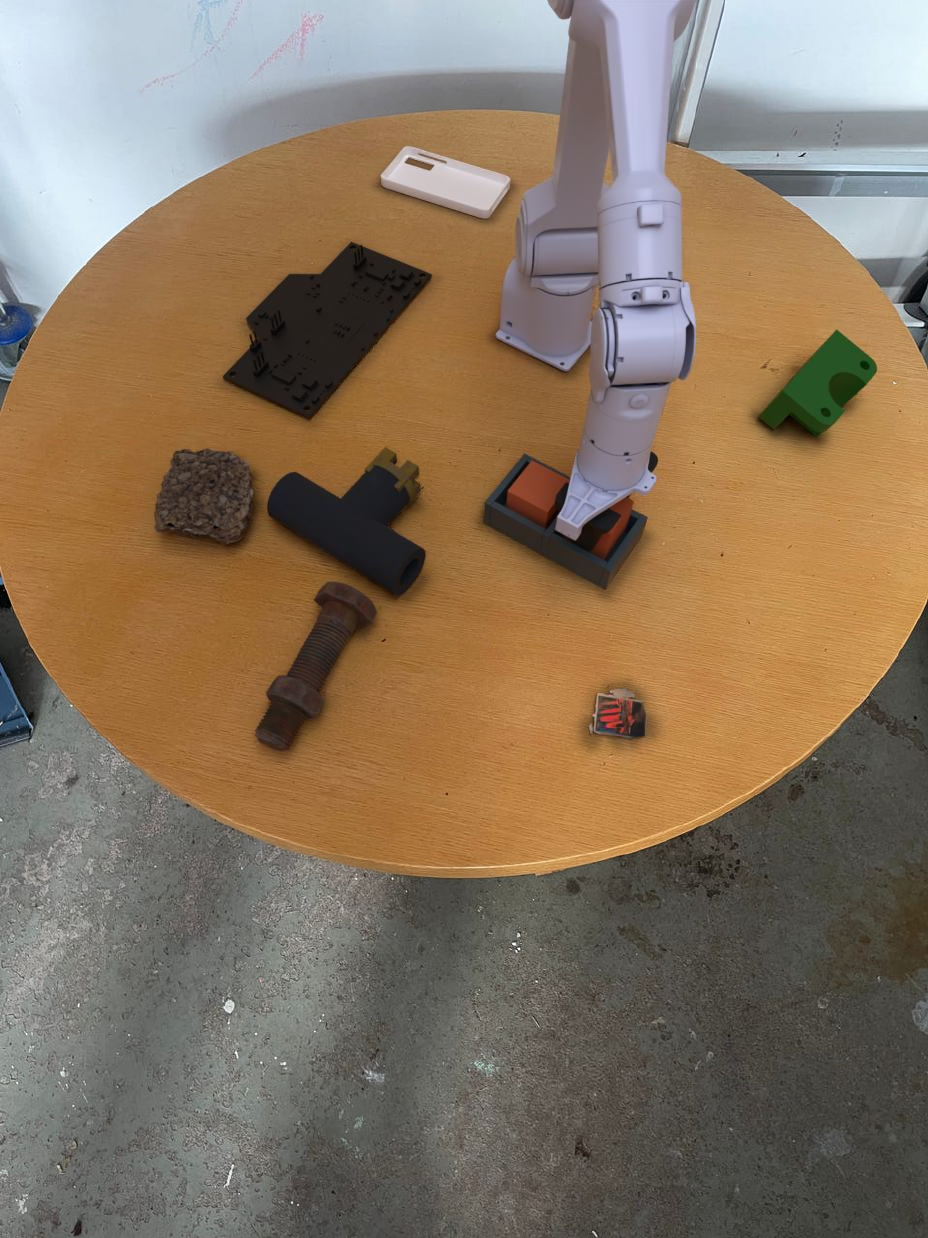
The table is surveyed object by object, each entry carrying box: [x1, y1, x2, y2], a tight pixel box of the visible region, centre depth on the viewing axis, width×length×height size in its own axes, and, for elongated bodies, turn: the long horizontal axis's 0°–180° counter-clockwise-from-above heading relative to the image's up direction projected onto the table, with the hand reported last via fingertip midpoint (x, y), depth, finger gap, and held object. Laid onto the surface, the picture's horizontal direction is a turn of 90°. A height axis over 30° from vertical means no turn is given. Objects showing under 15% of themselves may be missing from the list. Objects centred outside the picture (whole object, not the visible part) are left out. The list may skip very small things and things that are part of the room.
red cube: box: [563, 497, 635, 560], centre depth 80 cm, size 4×4×4 cm
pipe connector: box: [266, 446, 427, 597], centre depth 83 cm, size 12×5×15 cm
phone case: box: [380, 145, 511, 220], centre depth 109 cm, size 7×1×15 cm
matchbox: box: [588, 687, 648, 739], centre depth 75 cm, size 5×5×1 cm
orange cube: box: [506, 461, 570, 530], centre depth 83 cm, size 4×4×4 cm
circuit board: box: [222, 241, 433, 420], centre depth 97 cm, size 25×14×3 cm, turn 150°
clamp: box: [757, 328, 878, 438], centre depth 90 cm, size 12×6×9 cm, turn 134°
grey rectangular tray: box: [483, 453, 649, 591], centre depth 83 cm, size 14×7×3 cm, turn 56°
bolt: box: [254, 581, 378, 752], centre depth 75 cm, size 6×5×15 cm
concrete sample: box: [153, 448, 255, 547], centre depth 83 cm, size 12×10×5 cm
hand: (595, 525), depth 81 cm, fingers closed on red cube, 4 cm apart
